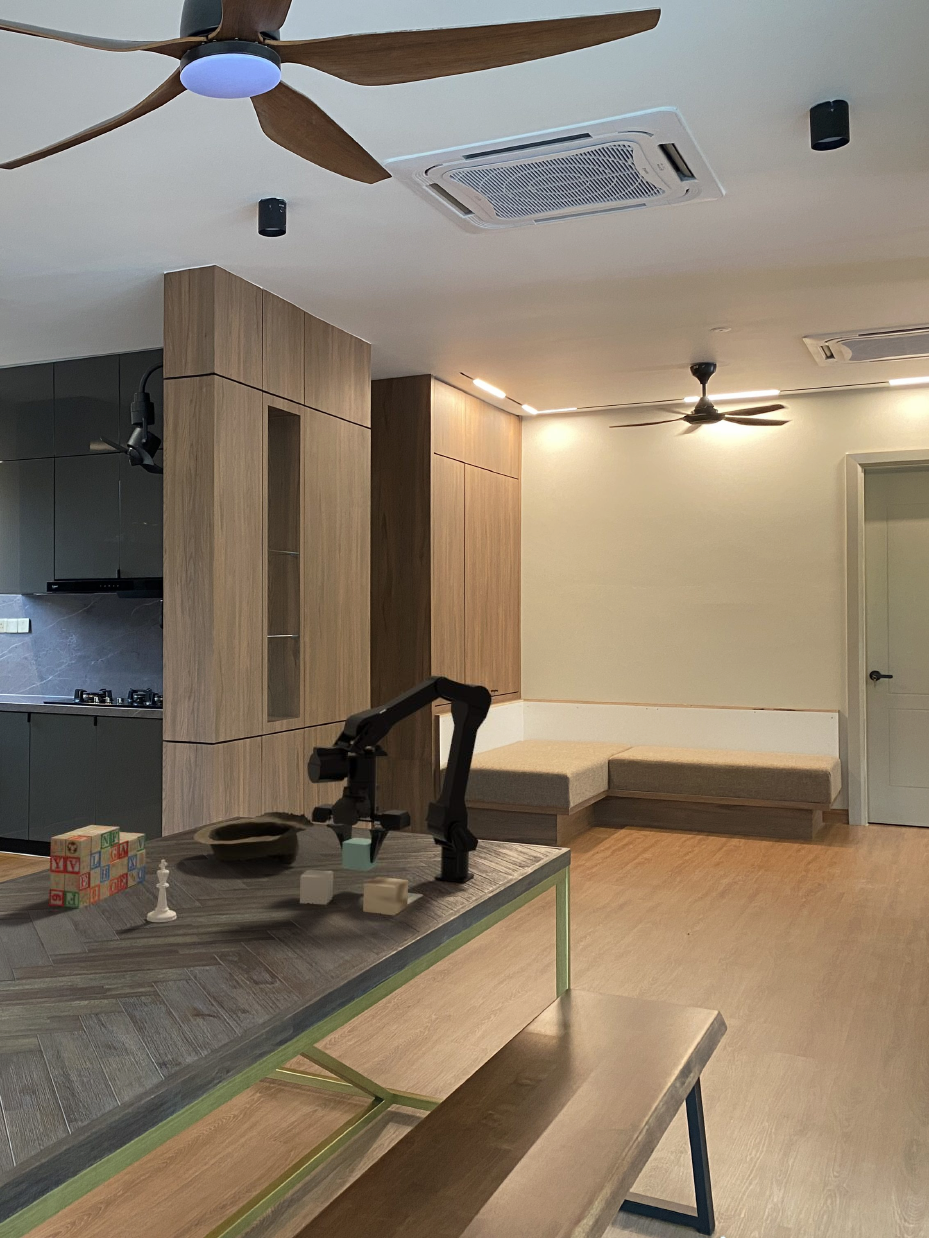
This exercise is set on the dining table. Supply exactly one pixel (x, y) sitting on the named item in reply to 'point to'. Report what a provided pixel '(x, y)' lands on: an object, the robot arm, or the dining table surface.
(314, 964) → the dining table surface
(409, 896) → the card
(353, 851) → the teal block
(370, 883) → the maple block
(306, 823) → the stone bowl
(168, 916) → the chess piece
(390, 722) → the robot arm
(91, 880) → the stack of blocks
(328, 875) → the beige block
